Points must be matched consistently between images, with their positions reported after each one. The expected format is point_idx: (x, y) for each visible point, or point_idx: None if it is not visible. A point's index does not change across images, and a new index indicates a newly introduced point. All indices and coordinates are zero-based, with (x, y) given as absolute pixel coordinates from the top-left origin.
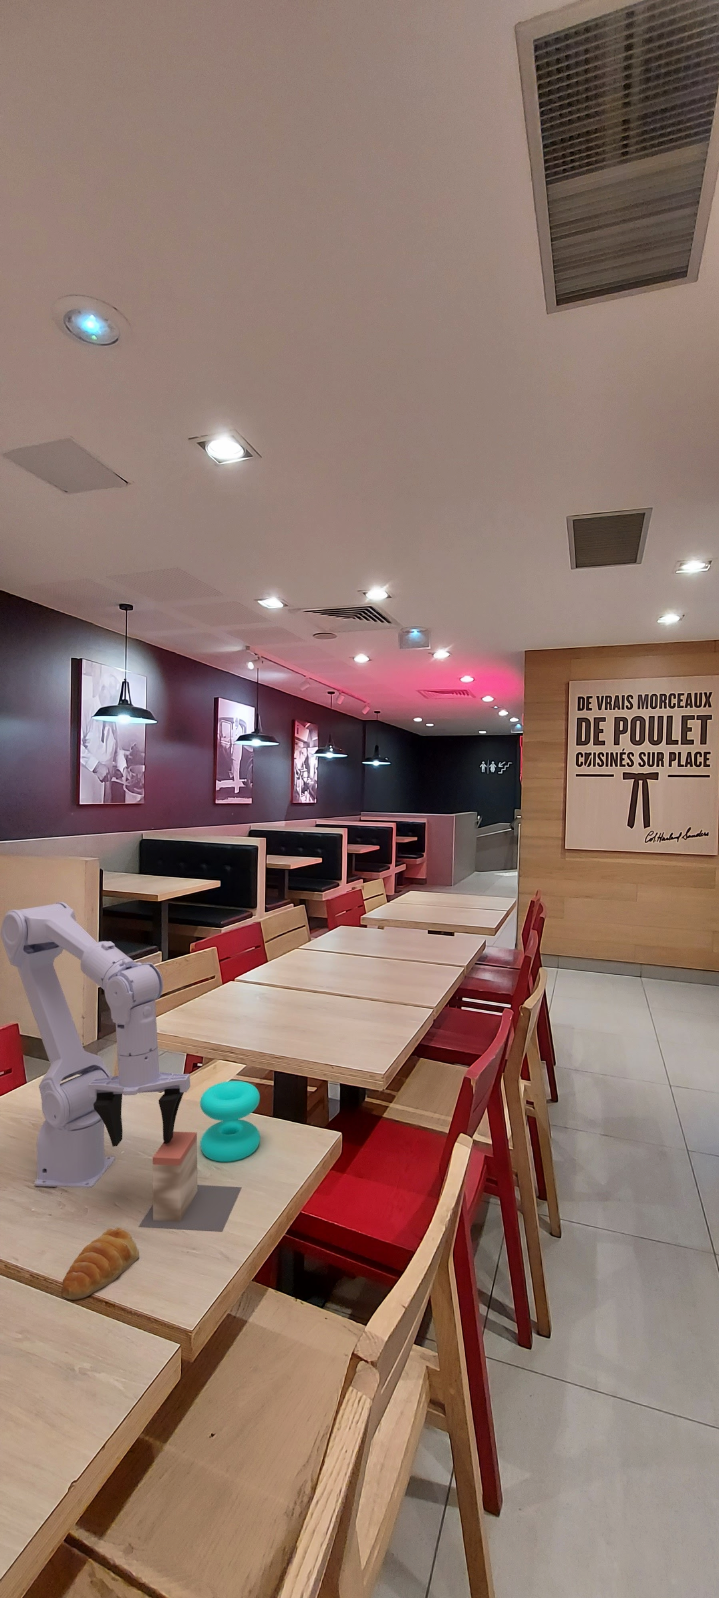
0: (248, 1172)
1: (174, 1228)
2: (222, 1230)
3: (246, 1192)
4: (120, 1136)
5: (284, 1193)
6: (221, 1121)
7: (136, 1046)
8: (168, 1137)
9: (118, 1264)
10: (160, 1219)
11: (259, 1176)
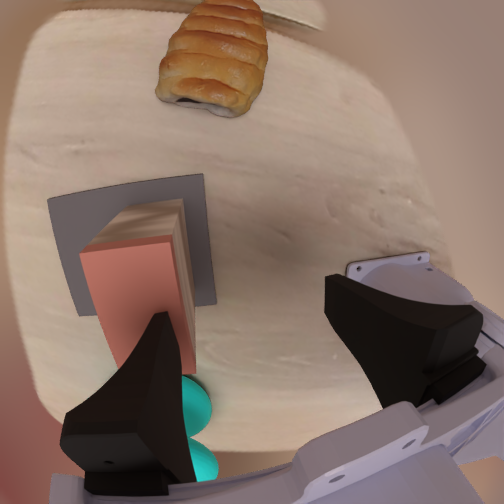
0: (98, 354)
1: (128, 185)
2: (47, 202)
3: (70, 309)
4: (331, 311)
5: (24, 314)
6: (190, 434)
7: None
8: (148, 325)
9: (171, 41)
10: (166, 200)
11: (77, 347)
